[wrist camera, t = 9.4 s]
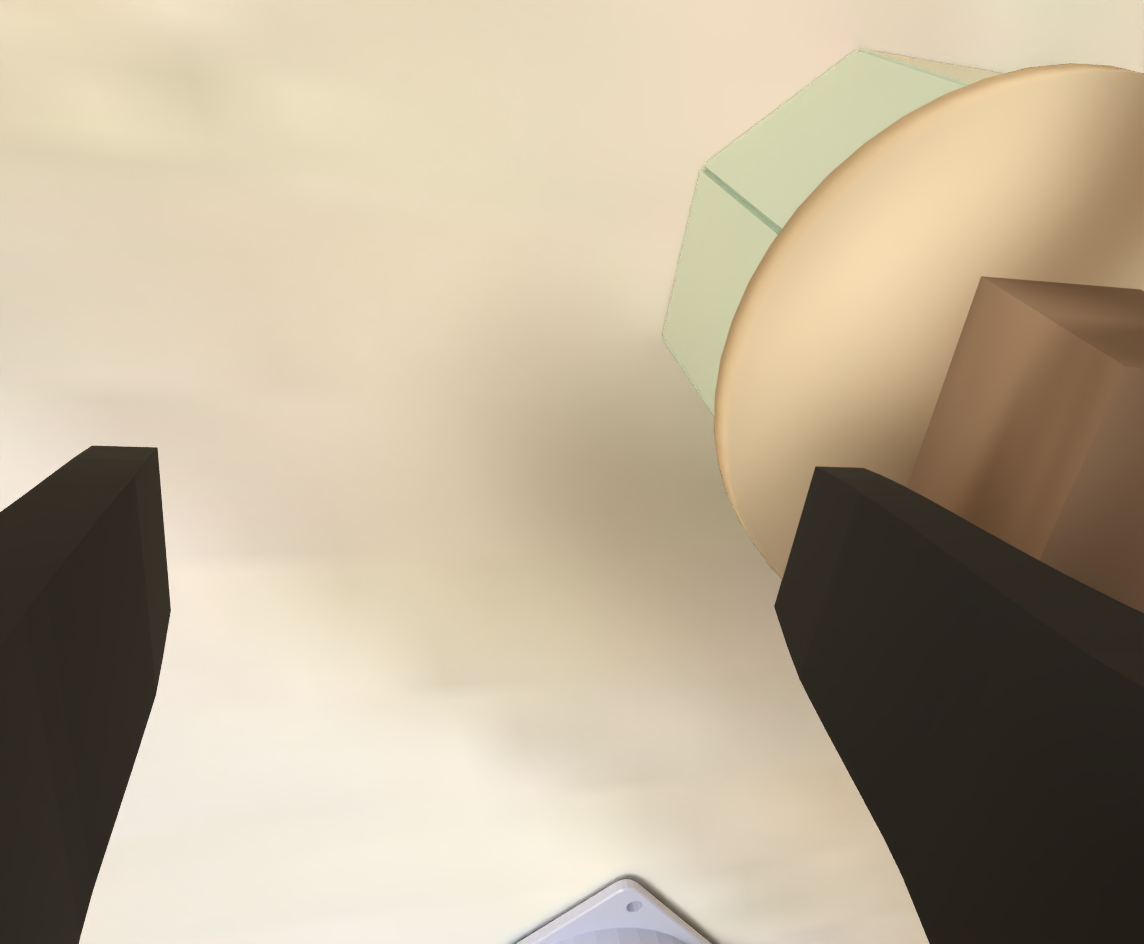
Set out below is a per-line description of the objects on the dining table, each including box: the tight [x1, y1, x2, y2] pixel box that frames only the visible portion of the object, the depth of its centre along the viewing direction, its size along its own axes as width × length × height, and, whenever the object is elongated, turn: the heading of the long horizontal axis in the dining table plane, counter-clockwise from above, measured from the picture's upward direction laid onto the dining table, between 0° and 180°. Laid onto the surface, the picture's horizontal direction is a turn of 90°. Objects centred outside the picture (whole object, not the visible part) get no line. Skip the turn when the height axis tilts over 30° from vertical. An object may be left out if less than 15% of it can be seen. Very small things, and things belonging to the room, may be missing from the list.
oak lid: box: [714, 63, 1144, 613], centre depth 16 cm, size 10×10×4 cm
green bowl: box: [662, 48, 1004, 416], centre depth 20 cm, size 9×9×5 cm
